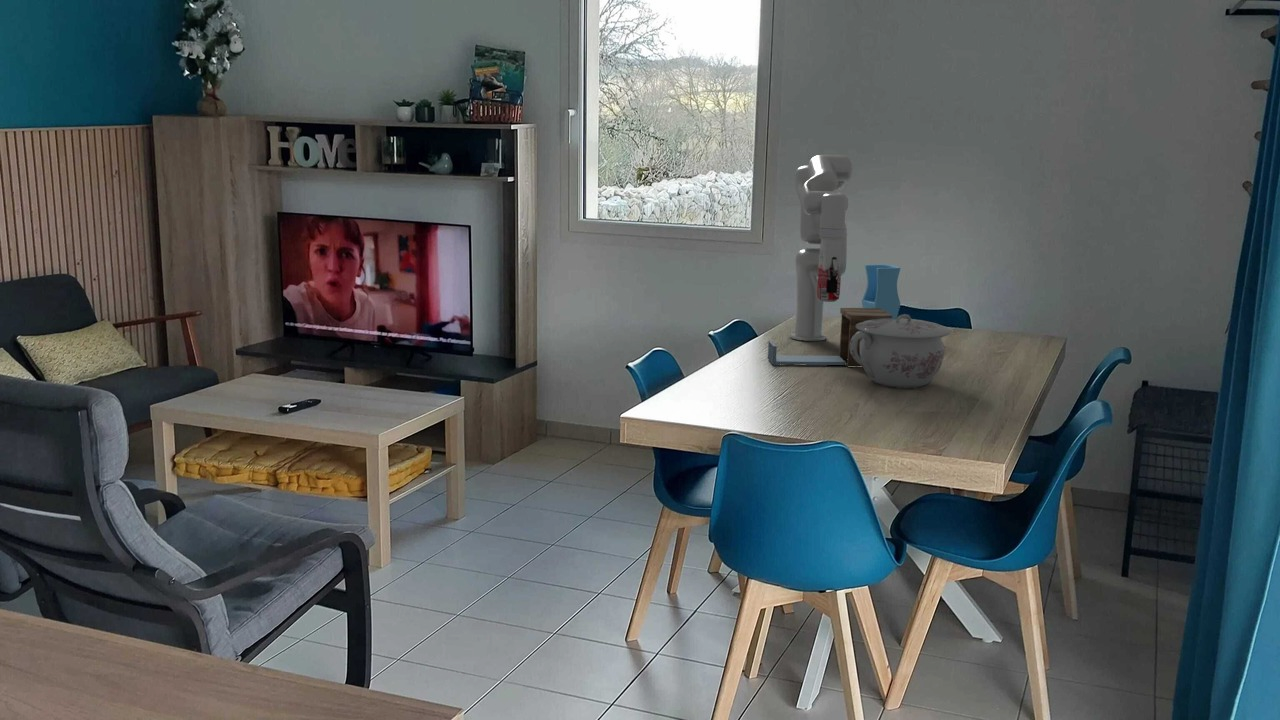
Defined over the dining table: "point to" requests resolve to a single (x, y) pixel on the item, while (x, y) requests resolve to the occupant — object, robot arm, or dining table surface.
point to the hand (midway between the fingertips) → (828, 290)
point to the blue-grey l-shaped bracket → (801, 358)
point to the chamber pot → (899, 350)
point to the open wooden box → (849, 328)
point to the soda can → (822, 286)
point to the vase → (882, 288)
